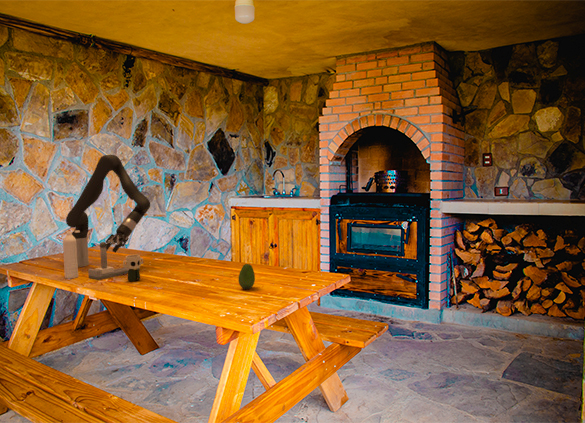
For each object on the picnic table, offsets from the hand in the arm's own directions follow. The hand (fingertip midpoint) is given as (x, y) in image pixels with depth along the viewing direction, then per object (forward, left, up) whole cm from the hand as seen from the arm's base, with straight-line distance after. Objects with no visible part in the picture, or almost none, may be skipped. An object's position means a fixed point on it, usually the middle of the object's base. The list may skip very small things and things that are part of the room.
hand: (109, 250), depth 232 cm
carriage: (0, -3, -11) cm, 11 cm away
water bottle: (-14, -13, -14) cm, 23 cm away
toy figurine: (+21, 0, -14) cm, 25 cm away
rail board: (0, +3, -14) cm, 14 cm away
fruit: (+82, +19, -14) cm, 85 cm away
